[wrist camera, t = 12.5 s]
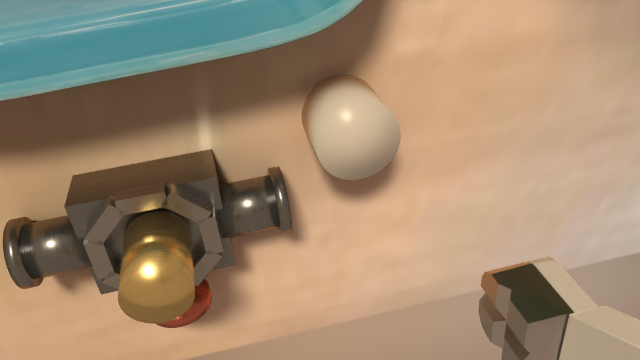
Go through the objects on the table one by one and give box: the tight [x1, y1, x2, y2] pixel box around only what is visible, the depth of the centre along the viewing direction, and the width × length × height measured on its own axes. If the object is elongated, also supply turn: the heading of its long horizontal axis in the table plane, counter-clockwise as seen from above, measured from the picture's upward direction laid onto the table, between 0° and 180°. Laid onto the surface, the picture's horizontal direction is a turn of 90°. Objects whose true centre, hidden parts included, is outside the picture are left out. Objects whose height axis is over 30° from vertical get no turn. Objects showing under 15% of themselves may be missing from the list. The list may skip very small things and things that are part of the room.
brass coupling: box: [118, 211, 195, 323], centre depth 37 cm, size 5×5×6 cm
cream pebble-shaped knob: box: [302, 75, 400, 180], centre depth 40 cm, size 6×6×5 cm
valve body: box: [3, 149, 292, 328], centre depth 42 cm, size 19×12×5 cm, turn 95°
